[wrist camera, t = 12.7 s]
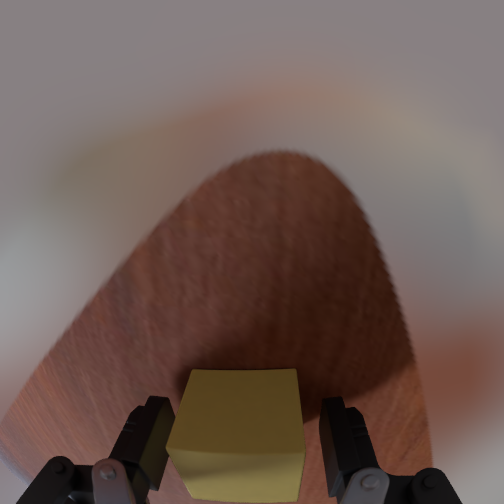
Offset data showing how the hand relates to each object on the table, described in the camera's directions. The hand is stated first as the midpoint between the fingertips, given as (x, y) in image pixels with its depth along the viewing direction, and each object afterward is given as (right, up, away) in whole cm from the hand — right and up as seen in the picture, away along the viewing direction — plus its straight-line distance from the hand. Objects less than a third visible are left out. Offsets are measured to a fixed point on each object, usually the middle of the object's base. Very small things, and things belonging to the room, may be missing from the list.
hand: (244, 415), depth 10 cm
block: (0, 0, +1) cm, 1 cm away
